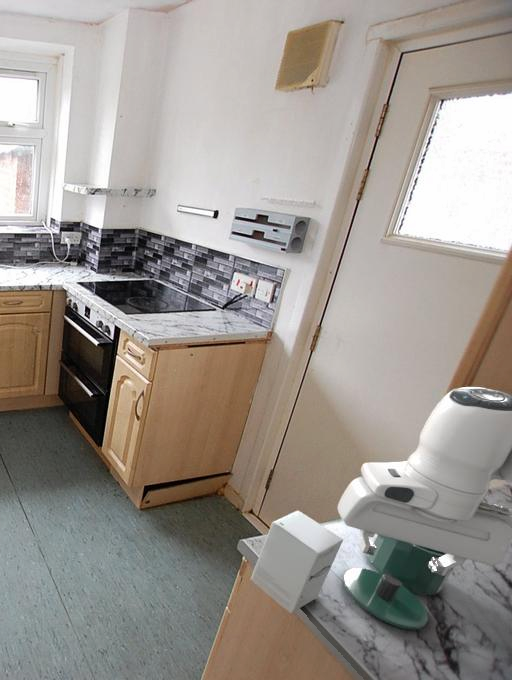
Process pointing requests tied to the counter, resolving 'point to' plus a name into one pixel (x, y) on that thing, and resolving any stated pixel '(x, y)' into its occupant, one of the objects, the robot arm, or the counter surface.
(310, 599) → the white packaging box
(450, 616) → the counter surface
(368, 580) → the lid
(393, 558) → the tin
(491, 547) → the robot arm
